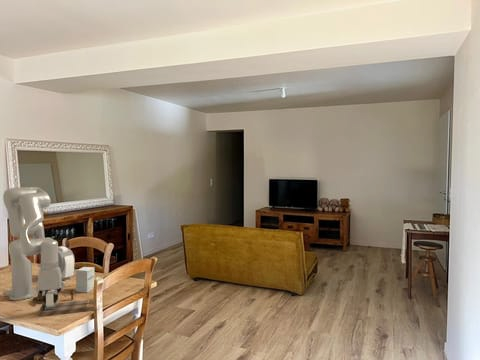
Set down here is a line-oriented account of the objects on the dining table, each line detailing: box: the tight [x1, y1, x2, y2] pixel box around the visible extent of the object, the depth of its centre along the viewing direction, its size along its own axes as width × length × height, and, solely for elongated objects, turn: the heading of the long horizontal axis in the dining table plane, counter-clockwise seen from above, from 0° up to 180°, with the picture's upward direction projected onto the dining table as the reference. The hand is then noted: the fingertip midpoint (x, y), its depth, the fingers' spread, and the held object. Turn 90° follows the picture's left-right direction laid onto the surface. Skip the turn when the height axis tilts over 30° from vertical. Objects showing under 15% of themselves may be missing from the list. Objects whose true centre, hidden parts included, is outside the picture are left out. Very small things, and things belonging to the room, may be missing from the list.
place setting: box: [28, 288, 76, 307], centre depth 185 cm, size 18×20×6 cm
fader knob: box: [45, 289, 58, 310], centre depth 172 cm, size 4×7×7 cm, turn 18°
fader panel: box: [38, 298, 95, 318], centre depth 175 cm, size 26×10×4 cm, turn 108°
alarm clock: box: [58, 245, 75, 282], centre depth 223 cm, size 18×8×20 cm, turn 59°
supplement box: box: [75, 266, 96, 294], centre depth 201 cm, size 7×7×13 cm
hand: (50, 302), depth 172 cm, fingers open, 3 cm apart
